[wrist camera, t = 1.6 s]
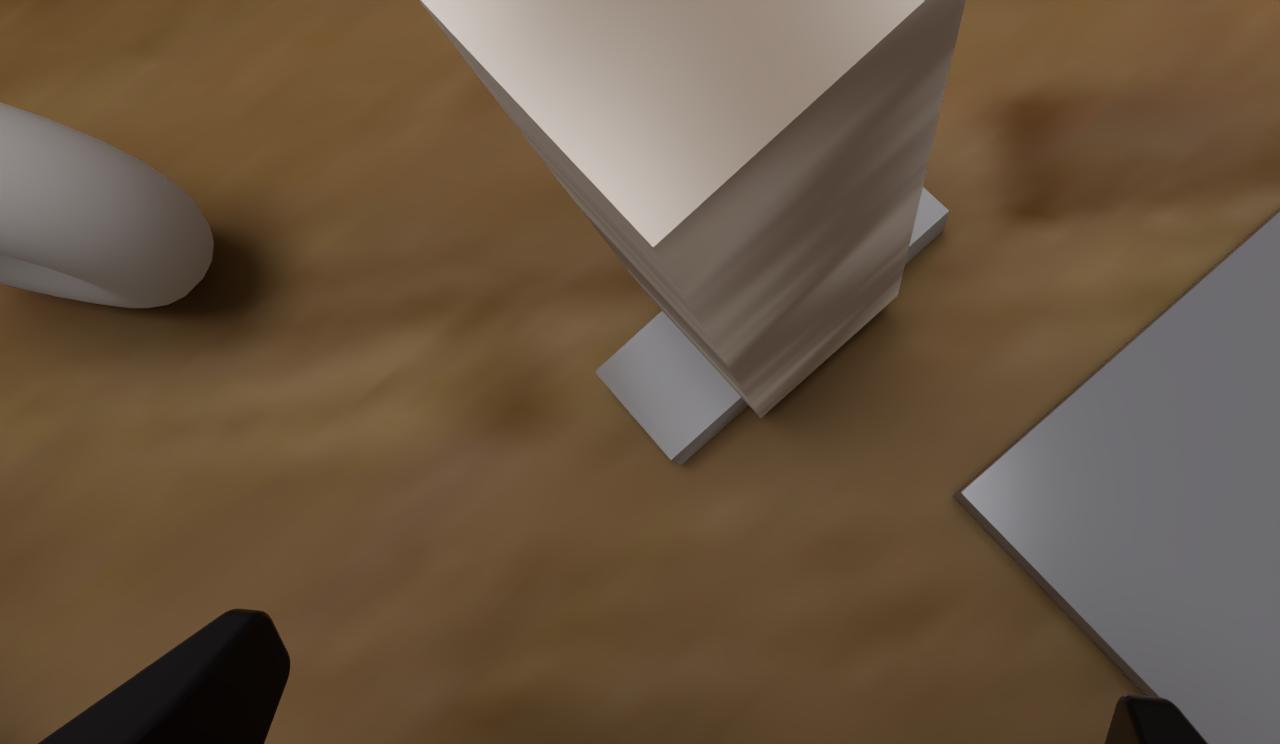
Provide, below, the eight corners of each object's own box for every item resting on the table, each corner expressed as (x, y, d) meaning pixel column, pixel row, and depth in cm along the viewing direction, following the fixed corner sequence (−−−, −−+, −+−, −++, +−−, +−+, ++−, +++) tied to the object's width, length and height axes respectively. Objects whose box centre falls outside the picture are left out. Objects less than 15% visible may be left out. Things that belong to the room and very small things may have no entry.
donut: (299, 228, 27) (6, 56, 18) (271, 339, 27) (-47, 223, 17) (35, 195, 30) (-349, 28, 20) (5, 296, 29) (-403, 173, 20)
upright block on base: (698, 486, 23) (488, 397, 9) (593, 363, 25) (268, 124, 11) (962, 250, 23) (1149, -204, 9) (841, 138, 24) (842, -414, 10)
